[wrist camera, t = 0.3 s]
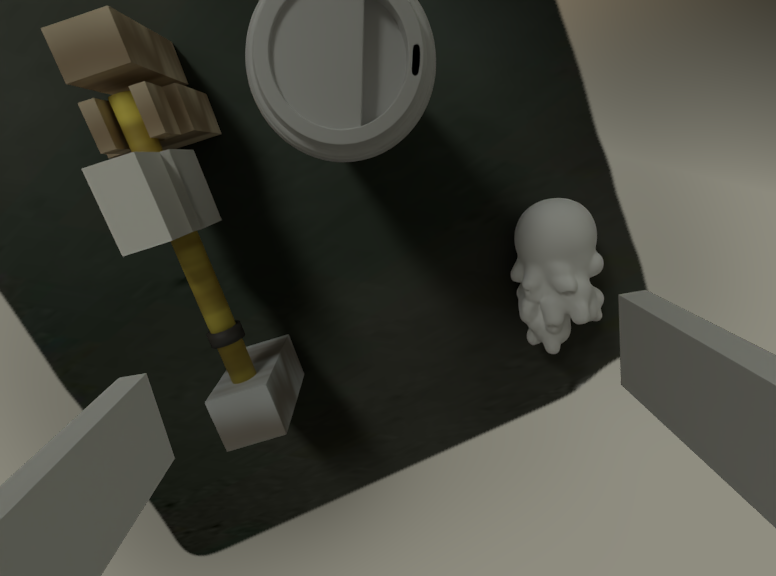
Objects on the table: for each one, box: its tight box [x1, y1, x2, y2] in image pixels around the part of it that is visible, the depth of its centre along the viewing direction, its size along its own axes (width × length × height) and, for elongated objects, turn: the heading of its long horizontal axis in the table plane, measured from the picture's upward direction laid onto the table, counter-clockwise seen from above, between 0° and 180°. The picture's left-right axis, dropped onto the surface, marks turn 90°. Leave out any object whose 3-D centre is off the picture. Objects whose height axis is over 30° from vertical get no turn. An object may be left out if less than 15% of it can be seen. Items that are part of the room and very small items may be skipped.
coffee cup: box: [245, 0, 436, 162], centre depth 29 cm, size 10×10×15 cm
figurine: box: [511, 198, 604, 354], centre depth 38 cm, size 7×7×12 cm
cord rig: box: [41, 6, 304, 452], centre depth 34 cm, size 28×6×10 cm, turn 17°
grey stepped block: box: [82, 149, 222, 256], centre depth 30 cm, size 5×4×7 cm
